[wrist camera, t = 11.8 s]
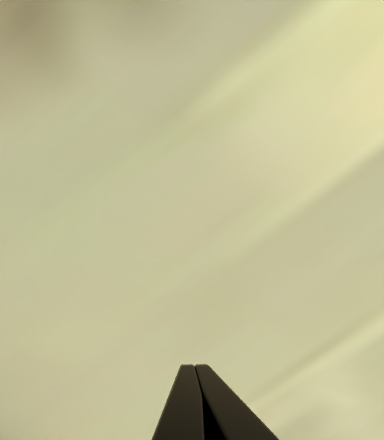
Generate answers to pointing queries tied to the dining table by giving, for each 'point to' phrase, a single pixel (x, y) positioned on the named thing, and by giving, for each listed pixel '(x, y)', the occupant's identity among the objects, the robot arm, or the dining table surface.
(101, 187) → the dining table surface
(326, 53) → the dining table surface
